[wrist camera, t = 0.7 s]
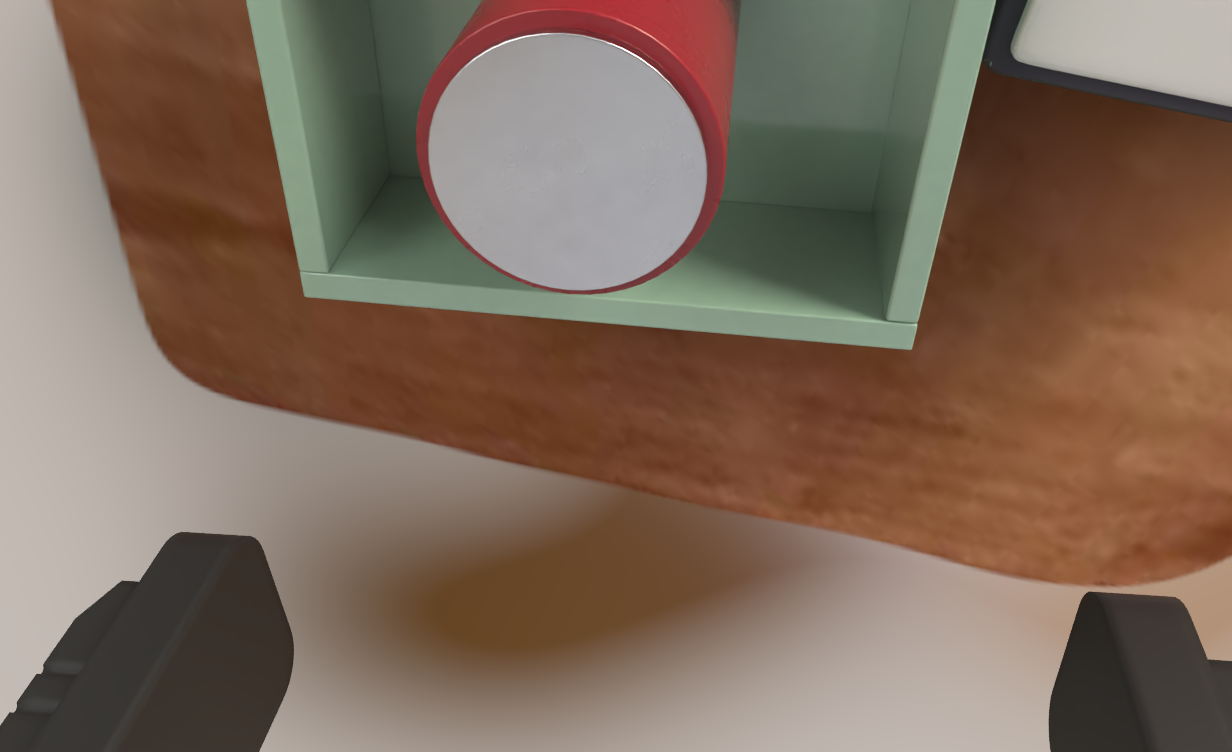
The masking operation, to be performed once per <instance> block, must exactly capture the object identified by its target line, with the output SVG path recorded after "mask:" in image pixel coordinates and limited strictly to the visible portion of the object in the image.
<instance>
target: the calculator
mask: <svg viewBox="0 0 1232 752" xmlns="http://www.w3.org/2000/svg"><path fill="white" fill-rule="evenodd" d="M982 59H983V61H984V63H985V64H986V66H987V67H988V68H989V70H991V71H992V72H994V73H997V74H1000V75H1005V76H1009V77H1014V78H1018V79H1023V80H1028V81H1033V82H1038V83H1043V84H1047V85H1052V86H1057V87H1062V88H1067V89H1071V90H1076V91H1081V92H1086V93H1091V94H1096V95H1100V96H1105V97H1110V98H1115V99H1120V100H1125V101H1129V102H1134V103H1139V104H1144V105H1149V106H1153V107H1158V108H1163V109H1168V110H1173V111H1178V112H1182V113H1187V114H1192V115H1197V116H1202V117H1207V118H1211V119H1216V120H1221V121H1226V122H1231V123H1232V0H996V3H995V7H994V12H993V16H992V20H991V24H990V28H989V32H988V36H987V41H986V45H985V49H984V53H983V57H982Z"/></svg>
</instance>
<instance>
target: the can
mask: <svg viewBox="0 0 1232 752" xmlns="http://www.w3.org/2000/svg"><path fill="white" fill-rule="evenodd" d="M740 7H741V0H482V1H481V3H480V4H479V6H478V7H477V9H476V10H475V12H474V13H473V15H472V16H471V18H470V19H469V21H468V22H467V24H466V25H465V27H464V28H463V30H462V31H461V32H460V34H459V35H458V37H457V38H456V40H455V41H454V43H453V44H452V46H451V47H450V49H449V50H448V52H447V53H446V55H445V56H444V58H443V59H442V61H441V62H440V64H439V66H438V67H437V69H436V70H435V72H434V74H433V75H432V77H431V79H430V80H429V83H428V85H427V88H426V90H425V92H424V95H423V97H422V101H421V105H420V109H419V113H418V119H417V128H416V148H417V157H418V163H419V168H420V173H421V176H422V179H423V182H424V185H425V188H426V191H427V193H428V195H429V197H430V199H431V202H432V204H433V206H434V208H435V209H436V211H437V212H438V214H439V216H440V217H441V219H442V221H443V222H444V223H445V225H446V226H447V227H448V228H449V230H450V231H451V232H452V233H453V235H454V236H455V237H456V238H457V239H458V240H459V241H460V242H461V243H462V244H463V245H464V246H465V247H466V248H467V249H468V250H469V251H470V252H471V253H473V254H474V255H475V256H476V257H478V258H479V259H480V260H481V261H483V262H484V263H486V264H487V265H489V266H490V267H492V268H493V269H495V270H497V271H498V272H500V273H502V274H504V275H506V276H508V277H510V278H512V279H514V280H516V281H519V282H521V283H524V284H527V285H530V286H532V287H536V288H540V289H544V290H548V291H551V292H558V293H566V294H582V295H591V294H603V293H610V292H615V291H620V290H625V289H628V288H631V287H634V286H637V285H640V284H643V283H645V282H647V281H649V280H651V279H653V278H655V277H658V276H659V275H661V274H662V273H664V272H665V271H667V270H669V269H670V268H672V267H673V266H674V265H676V264H677V263H678V262H679V261H680V260H682V259H683V258H684V257H685V256H686V255H687V254H688V253H689V252H690V251H691V250H692V249H693V248H694V247H695V246H696V244H697V243H698V242H699V241H700V239H701V238H702V236H703V235H704V233H705V232H706V231H707V229H708V228H709V226H710V224H711V222H712V220H713V218H714V215H715V213H716V211H717V208H718V205H719V202H720V199H721V196H722V192H723V186H724V180H725V173H726V162H727V151H728V140H729V129H730V118H731V107H732V96H733V84H734V73H735V62H736V51H737V40H738V29H739V18H740Z"/></svg>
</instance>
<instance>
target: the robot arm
mask: <svg viewBox="0 0 1232 752" xmlns="http://www.w3.org/2000/svg"><path fill="white" fill-rule="evenodd" d="M293 656H294V645H293V637H292V632H291V629H290V626H289V623H288V621H287V617H286V614H285V612H284V609H283V606H282V603H281V600H280V597H279V594H278V591H277V588H276V586H275V583H274V580H273V577H272V574H271V571H270V568H269V565H268V563H267V560H266V557H265V554H264V551H263V549H262V546H261V545H260V543H259V542H258V540H256V539H255V538H253V537H251V536H238V535H222V534H205V533H190V532H180V533H177V534H175V535H173V536H172V537H171V538H170V539H169V540H168V541H167V542H166V543H165V544H164V546H163V547H162V548H161V550H160V551H159V553H158V554H157V556H156V557H155V559H154V560H153V562H152V563H151V565H150V566H149V568H148V569H147V571H146V573H145V574H144V575H143V577H142V578H141V580H140V582H134V581H121V582H120V583H118V584H117V585H116V586H115V587H114V588H112V589H111V590H110V591H109V592H107V593H106V594H105V595H104V596H103V597H101V598H100V599H99V600H98V601H97V602H95V603H94V604H93V605H92V606H91V607H89V608H88V609H87V610H85V611H84V612H83V613H82V614H81V615H79V616H78V617H77V618H76V619H75V620H74V621H73V623H72V624H71V626H70V627H69V628H68V630H67V631H66V633H65V634H64V636H63V637H62V638H61V640H60V642H59V643H58V644H57V646H56V647H55V648H54V650H53V651H52V653H51V654H50V656H49V657H48V658H47V660H46V661H45V663H44V665H43V666H44V669H43V672H42V673H41V674H36V676H35V677H34V678H33V680H32V681H31V683H30V684H29V686H28V687H27V688H26V690H25V691H24V693H23V694H22V696H21V697H20V698H19V700H18V701H17V709H16V711H15V712H14V713H9V714H8V716H7V717H6V718H5V720H4V721H3V723H2V724H1V725H0V752H259V751H260V748H261V746H262V744H263V742H264V740H265V737H266V735H267V733H268V731H269V729H270V727H271V724H272V722H273V720H274V718H275V715H276V714H277V711H278V709H279V707H280V705H281V703H282V701H283V698H284V696H285V693H286V691H287V688H288V685H289V682H290V677H291V673H292V667H293V658H294V657H293ZM1049 741H1050V750H1051V752H1232V661H1221V660H1208V659H1207V657H1206V654H1205V652H1204V649H1203V647H1202V644H1201V642H1200V639H1199V637H1198V634H1197V632H1196V629H1195V627H1194V624H1193V621H1192V619H1191V617H1190V614H1189V612H1188V610H1187V608H1186V607H1185V605H1184V604H1183V603H1182V602H1181V601H1180V600H1179V599H1177V598H1176V597H1166V596H1150V595H1135V594H1119V593H1103V592H1088V593H1086V594H1085V595H1084V597H1083V598H1082V600H1081V602H1080V605H1079V608H1078V611H1077V614H1076V617H1075V621H1074V624H1073V627H1072V630H1071V633H1070V637H1069V640H1068V643H1067V647H1066V649H1065V653H1064V656H1063V659H1062V662H1061V665H1060V669H1059V672H1058V675H1057V678H1056V681H1055V685H1054V688H1053V691H1052V695H1051V700H1050V709H1049Z"/></svg>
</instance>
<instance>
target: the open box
mask: <svg viewBox="0 0 1232 752" xmlns="http://www.w3.org/2000/svg"><path fill="white" fill-rule="evenodd" d="M481 1H482V0H246V3H247V8H248V13H249V18H250V23H251V28H252V33H253V38H254V44H255V49H256V54H257V59H258V64H259V69H260V74H261V79H262V84H263V89H264V94H265V99H266V104H267V109H268V114H269V119H270V124H271V129H272V134H273V139H274V144H275V149H276V154H277V159H278V164H279V169H280V174H281V179H282V184H283V189H284V194H285V200H286V205H287V210H288V215H289V220H290V225H291V230H292V235H293V240H294V245H295V250H296V255H297V260H298V265H299V269H300V270H301V271H300V276H301V281H302V286H303V291H304V296H305V297H311V298H322V299H334V300H345V301H356V302H368V303H379V304H391V305H402V306H413V307H425V308H436V309H448V310H459V311H470V312H482V313H493V314H505V315H516V316H527V317H539V318H550V319H562V320H573V321H584V322H596V323H607V324H618V325H630V326H641V327H653V328H664V329H675V330H687V331H698V332H710V333H721V334H732V335H744V336H755V337H767V338H778V339H789V340H801V341H812V342H824V343H835V344H846V345H858V346H869V347H880V348H892V349H903V350H911V349H912V347H913V343H914V339H915V335H916V331H917V326H918V325H917V322H918V320H919V317H920V313H921V309H922V305H923V300H924V296H925V292H926V288H927V284H928V280H929V276H930V272H931V267H932V263H933V259H934V255H935V251H936V247H937V243H938V239H939V234H940V230H941V226H942V222H943V218H944V214H945V210H946V206H947V201H948V197H949V193H950V189H951V185H952V181H953V177H954V173H955V168H956V164H957V160H958V156H959V152H960V148H961V144H962V140H963V135H964V131H965V127H966V123H967V119H968V115H969V111H970V107H971V102H972V98H973V94H974V90H975V86H976V82H977V78H978V74H979V69H980V65H981V61H982V57H983V53H984V49H985V45H986V41H987V36H988V32H989V28H990V24H991V20H992V16H993V12H994V7H995V3H996V0H741V7H740V18H739V29H738V40H737V51H736V62H735V73H734V84H733V96H732V107H731V118H730V129H729V140H728V151H727V162H726V173H725V180H724V186H723V192H722V196H721V199H720V202H719V205H718V208H717V211H716V213H715V215H714V218H713V220H712V222H711V224H710V226H709V228H708V229H707V231H706V232H705V233H704V235H703V236H702V238H701V239H700V241H699V242H698V243H697V244H696V246H695V247H694V248H693V249H692V250H691V251H690V252H689V253H688V254H687V255H686V256H685V257H684V258H683V259H682V260H680V261H679V262H678V263H677V264H676V265H674V266H673V267H672V268H670V269H669V270H667V271H665V272H664V273H662V274H661V275H659V276H658V277H655V278H653V279H651V280H649V281H647V282H645V283H643V284H640V285H637V286H634V287H631V288H628V289H625V290H620V291H615V292H610V293H603V294H591V295H582V294H566V293H558V292H551V291H548V290H544V289H540V288H536V287H532V286H530V285H527V284H524V283H521V282H519V281H516V280H514V279H512V278H510V277H508V276H506V275H504V274H502V273H500V272H498V271H497V270H495V269H493V268H492V267H490V266H489V265H487V264H486V263H484V262H483V261H481V260H480V259H479V258H478V257H476V256H475V255H474V254H473V253H471V252H470V251H469V250H468V249H467V248H466V247H465V246H464V245H463V244H462V243H461V242H460V241H459V240H458V239H457V238H456V237H455V236H454V235H453V233H452V232H451V231H450V230H449V228H448V227H447V226H446V225H445V223H444V222H443V221H442V219H441V217H440V216H439V214H438V212H437V211H436V209H435V208H434V206H433V204H432V202H431V199H430V197H429V195H428V193H427V191H426V188H425V185H424V182H423V179H422V176H421V173H420V168H419V163H418V157H417V148H416V128H417V119H418V113H419V109H420V105H421V101H422V97H423V95H424V92H425V90H426V88H427V85H428V83H429V80H430V79H431V77H432V75H433V74H434V72H435V70H436V69H437V67H438V66H439V64H440V62H441V61H442V59H443V58H444V56H445V55H446V53H447V52H448V50H449V49H450V47H451V46H452V44H453V43H454V41H455V40H456V38H457V37H458V35H459V34H460V32H461V31H462V30H463V28H464V27H465V25H466V24H467V22H468V21H469V19H470V18H471V16H472V15H473V13H474V12H475V10H476V9H477V7H478V6H479V4H480V3H481Z"/></svg>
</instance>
